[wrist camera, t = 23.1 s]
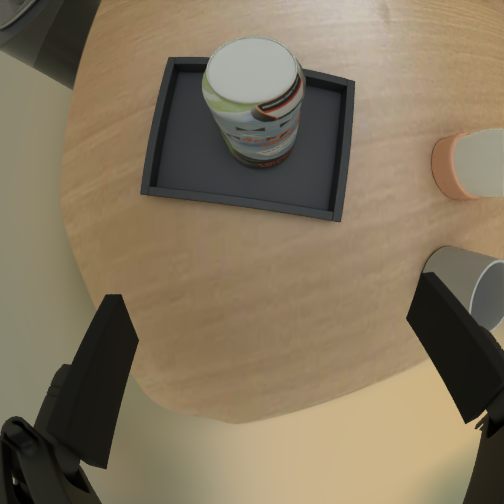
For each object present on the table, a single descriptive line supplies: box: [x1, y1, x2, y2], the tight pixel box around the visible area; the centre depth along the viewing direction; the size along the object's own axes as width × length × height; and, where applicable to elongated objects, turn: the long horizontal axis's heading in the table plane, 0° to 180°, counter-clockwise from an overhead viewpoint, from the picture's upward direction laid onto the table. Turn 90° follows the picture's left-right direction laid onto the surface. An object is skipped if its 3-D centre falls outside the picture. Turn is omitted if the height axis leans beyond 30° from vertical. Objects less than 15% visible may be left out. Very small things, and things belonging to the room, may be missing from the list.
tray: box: [140, 57, 355, 222], centre depth 24 cm, size 18×14×2 cm
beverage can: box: [202, 36, 306, 168], centre depth 18 cm, size 6×7×12 cm
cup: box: [423, 246, 504, 333], centre depth 23 cm, size 7×10×9 cm
